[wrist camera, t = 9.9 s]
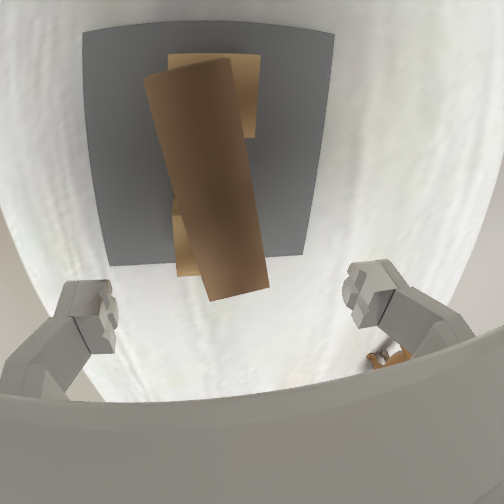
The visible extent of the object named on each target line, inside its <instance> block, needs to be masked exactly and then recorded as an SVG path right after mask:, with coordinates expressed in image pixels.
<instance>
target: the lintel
mask: <svg viewBox="0 0 504 504" xmlns="http://www.w3.org/2000/svg"><path fill="white" fill-rule="evenodd" d="M143 81H144V85H145V89H146V93H147V97H148V101H149V105H150V109H151V113H152V117H153V120H154V124H155V128H156V132H157V135H158V139H159V142H160V146H161V150H162V153H163V157H164V160H165V164H166V167H167V171H168V174H169V177H170V181H171V184H172V187H173V191H174V194H175V197H176V201H177V204H178V207H179V210H180V214H181V217H182V220H183V223H184V226H185V229H186V232H187V236H188V239H189V242H190V245H191V248H192V251H193V254H194V257H195V260H196V263H197V266H198V269H199V272H200V275H201V278H202V281H203V283H204V286H205V289H206V292H207V295H208V298H209V301H210V302H211V301H215V300H219V299H224V298H228V297H232V296H236V295H240V294H244V293H249V292H253V291H257V290H261V289H265V288H269V287H270V286H269V280H268V274H267V268H266V261H265V255H264V249H263V243H262V237H261V231H260V225H259V219H258V214H257V208H256V202H255V196H254V190H253V184H252V178H251V173H250V167H249V161H248V155H247V150H246V144H245V138H244V133H243V127H242V121H241V116H240V110H239V105H238V99H237V93H236V88H235V82H234V77H233V71H232V66H231V61H230V58H219V59H214V60H209V61H204V62H199V63H195V64H190V65H186V66H182V67H178V68H174V69H170V70H166V71H163V72H159V73H155V74H152V75H149V76H147V77H146V78H144V79H143Z"/></svg>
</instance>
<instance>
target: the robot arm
mask: <svg viewBox="0 0 504 504" xmlns="http://www.w3.org/2000/svg"><path fill="white" fill-rule="evenodd" d="M347 272H348V274H349V277H348V278H347V279H346V280H345V281H344V283H343V287H342V296H343V300H344V303H345V305H346V306H347V307H348V308H350V309H351V310H352V314H351V316H352V318H353V320H354V322H355V323H356V325H357V327H358V329H360V328H366V327H373V326H378V327H379V328H380V329H381V330H383V331H384V332H385V333H386V334H387V335H389V336H390V337H391V338H392V339H394V340H395V341H396V342H397V343H398V344H400V345H401V346H402V347H403V348H405V349H406V350H407V351H408V352H409V353H411V354H412V355H413V356H412V357H411V359H410V360H408V361H404V362H401V363H398V364H394V365H391V366H387V367H384V368H380V369H376V370H372V371H369V372H365V373H361V374H357V375H352V376H348V377H344V378H339V379H335V380H330V381H326V382H321V383H316V384H311V385H306V386H300V387H295V388H289V389H283V390H277V391H270V392H263V393H256V394H249V395H241V396H232V397H223V398H213V399H201V400H187V401H170V402H135V403H116V402H82V401H70V399H69V398H68V397H67V396H66V395H65V392H66V391H67V389H68V388H69V386H70V385H71V383H72V382H73V380H74V379H75V377H76V376H77V375H78V373H79V372H80V370H81V369H82V368H83V366H84V365H85V363H86V362H87V360H88V359H89V358H90V356H91V355H90V354H112V353H115V344H116V335H115V332H114V330H115V329H116V328H117V326H118V308H117V303H116V300H115V298H114V297H112V296H111V293H112V286H111V283H110V281H109V280H80V281H67V282H65V284H64V286H63V289H62V292H61V295H60V298H59V301H58V304H57V307H56V310H55V314H54V317H49V318H48V319H47V320H46V321H45V322H44V323H43V324H42V325H41V326H40V327H39V328H38V329H37V330H36V331H35V332H34V333H33V334H32V335H31V336H30V337H29V338H28V339H27V340H25V341H24V342H23V344H21V345H20V346H19V348H17V349H16V351H14V353H12V355H11V356H10V357H9V358H8V359H7V360H6V361H5V364H4V368H3V371H2V375H1V378H0V504H504V325H503V326H501V327H498V328H496V329H494V330H491V331H489V332H487V333H484V334H482V335H479V336H477V337H476V336H475V335H474V333H473V332H472V330H471V329H470V327H469V326H468V325H467V323H466V322H465V321H464V319H463V318H462V316H461V315H460V314H458V313H457V312H455V311H453V310H452V309H450V308H448V307H447V306H445V305H443V304H442V303H440V302H438V301H437V300H435V299H433V298H431V297H430V296H428V295H426V294H425V293H423V292H421V291H419V290H418V289H416V288H414V287H409V285H408V284H407V283H406V281H405V280H404V279H403V277H402V276H401V275H400V273H399V272H398V271H397V269H396V268H395V267H394V265H393V264H392V263H391V261H389V260H388V259H383V260H375V261H366V262H355V263H351V264H350V266H349V268H348V271H347Z"/></svg>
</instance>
